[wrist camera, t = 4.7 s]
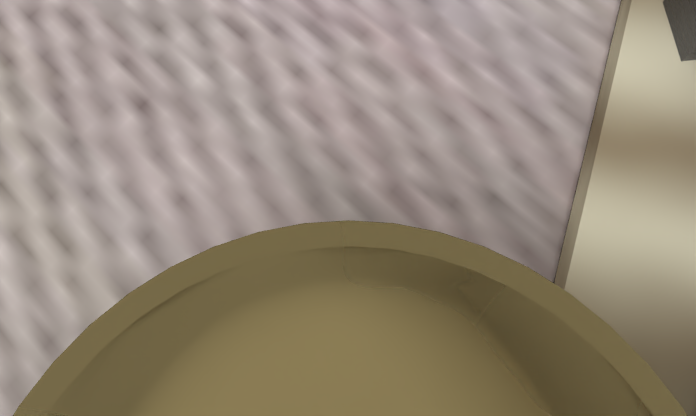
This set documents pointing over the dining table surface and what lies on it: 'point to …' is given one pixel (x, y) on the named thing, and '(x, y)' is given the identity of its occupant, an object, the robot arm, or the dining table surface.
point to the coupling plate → (641, 201)
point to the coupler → (349, 336)
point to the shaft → (683, 26)
